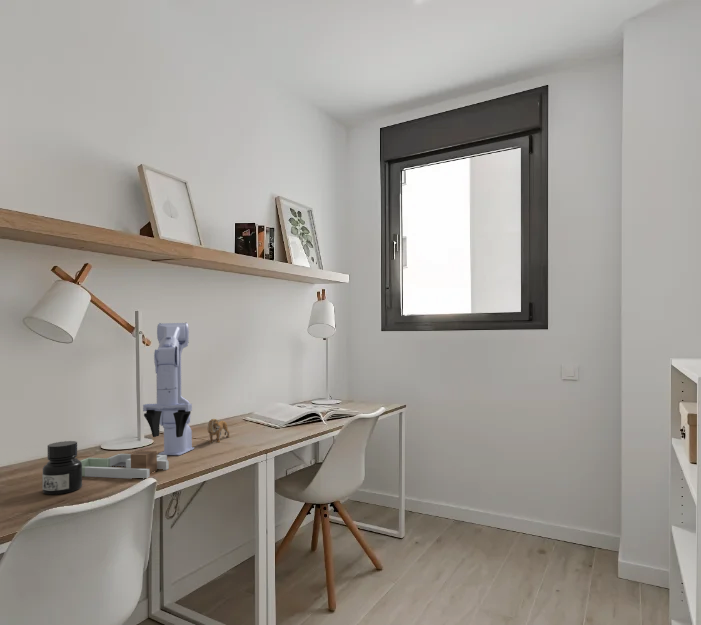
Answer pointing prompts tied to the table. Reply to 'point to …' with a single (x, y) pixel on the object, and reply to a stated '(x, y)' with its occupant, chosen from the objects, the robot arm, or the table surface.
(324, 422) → the table surface
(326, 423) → the table surface
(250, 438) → the table surface
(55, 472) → the ink bottle
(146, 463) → the walnut block
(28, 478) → the table surface
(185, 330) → the robot arm
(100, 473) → the trap box
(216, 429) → the lion figurine
